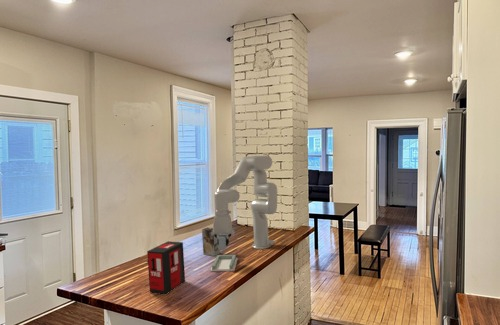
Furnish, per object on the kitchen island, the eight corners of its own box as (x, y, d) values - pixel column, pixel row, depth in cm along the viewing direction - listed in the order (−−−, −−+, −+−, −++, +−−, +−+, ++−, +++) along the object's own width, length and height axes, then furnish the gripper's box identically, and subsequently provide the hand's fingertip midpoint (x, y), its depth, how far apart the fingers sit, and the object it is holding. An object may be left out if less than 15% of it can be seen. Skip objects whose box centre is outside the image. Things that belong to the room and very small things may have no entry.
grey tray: (237, 259, 202) (237, 254, 202) (234, 270, 184) (234, 265, 184) (215, 260, 203) (215, 255, 202) (210, 271, 185) (210, 266, 184)
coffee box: (220, 253, 216) (219, 228, 215) (215, 256, 210) (213, 230, 209) (208, 251, 220) (207, 227, 219) (202, 254, 214) (201, 229, 213)
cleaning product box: (165, 295, 158) (163, 252, 156) (149, 292, 161) (147, 251, 160) (185, 281, 173) (182, 242, 172) (170, 279, 176) (168, 241, 175)
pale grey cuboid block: (227, 244, 197) (227, 232, 197) (225, 250, 187) (224, 237, 187) (221, 245, 198) (221, 233, 197) (219, 250, 188) (218, 237, 187)
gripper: (237, 211, 195) (238, 243, 196) (208, 212, 196) (210, 244, 197) (235, 214, 187) (237, 247, 188) (206, 215, 188) (207, 247, 189)
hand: (223, 245), depth 192 cm, fingers closed on pale grey cuboid block, 3 cm apart
